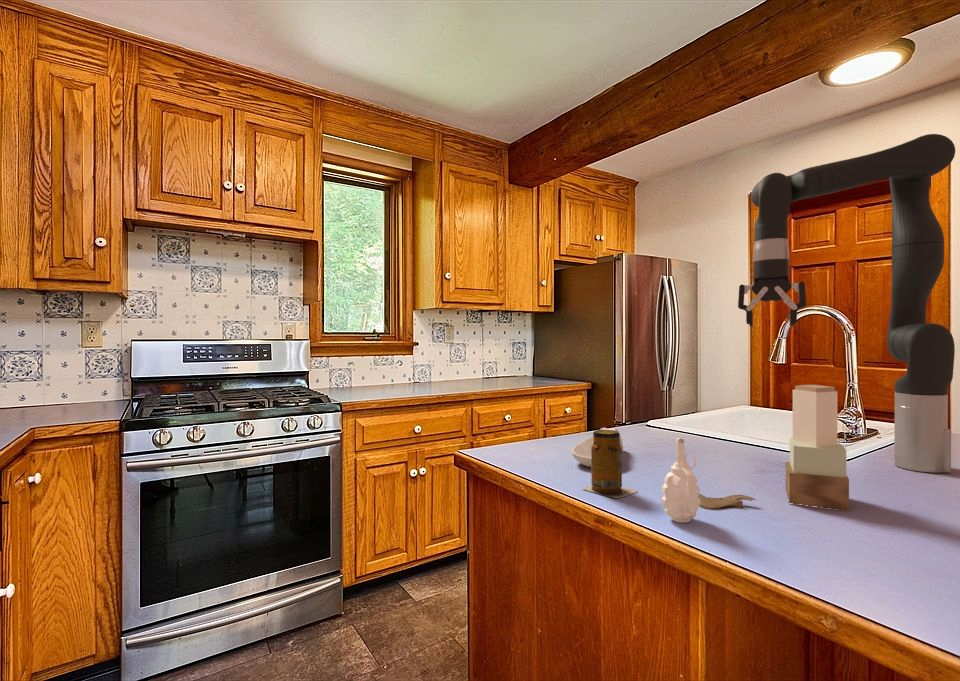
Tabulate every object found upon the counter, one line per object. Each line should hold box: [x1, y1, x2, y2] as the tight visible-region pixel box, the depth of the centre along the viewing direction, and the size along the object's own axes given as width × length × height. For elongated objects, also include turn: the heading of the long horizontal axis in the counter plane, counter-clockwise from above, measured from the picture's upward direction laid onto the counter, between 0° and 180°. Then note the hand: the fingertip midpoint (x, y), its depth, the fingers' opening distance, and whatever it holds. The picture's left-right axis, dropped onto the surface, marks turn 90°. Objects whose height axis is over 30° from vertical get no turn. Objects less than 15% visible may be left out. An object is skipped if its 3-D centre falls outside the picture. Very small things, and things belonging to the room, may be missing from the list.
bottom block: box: [785, 461, 850, 512], centre depth 96 cm, size 9×9×6 cm
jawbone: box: [698, 493, 757, 510], centre depth 100 cm, size 9×20×2 cm, turn 28°
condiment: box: [582, 429, 639, 499], centre depth 103 cm, size 7×8×12 cm
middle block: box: [789, 437, 847, 478], centre depth 95 cm, size 8×8×5 cm
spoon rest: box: [571, 427, 624, 468], centre depth 128 cm, size 24×12×7 cm, turn 152°
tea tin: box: [792, 384, 838, 447], centre depth 96 cm, size 5×5×11 cm
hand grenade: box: [661, 437, 701, 524], centre depth 86 cm, size 8×6×14 cm
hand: (771, 326), depth 123 cm, fingers open, 8 cm apart
